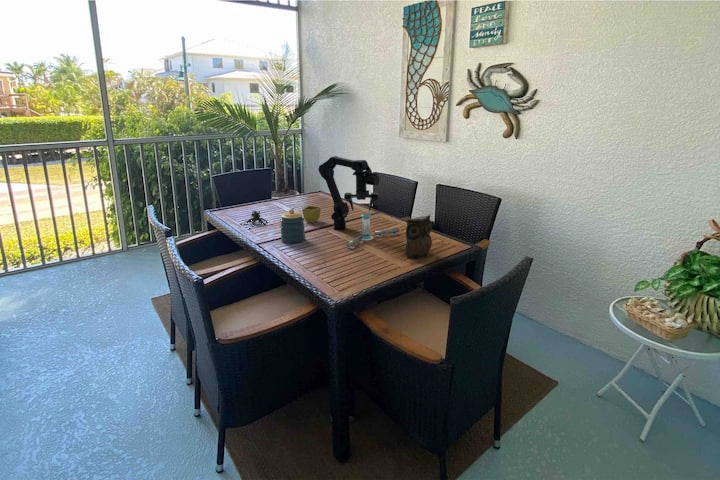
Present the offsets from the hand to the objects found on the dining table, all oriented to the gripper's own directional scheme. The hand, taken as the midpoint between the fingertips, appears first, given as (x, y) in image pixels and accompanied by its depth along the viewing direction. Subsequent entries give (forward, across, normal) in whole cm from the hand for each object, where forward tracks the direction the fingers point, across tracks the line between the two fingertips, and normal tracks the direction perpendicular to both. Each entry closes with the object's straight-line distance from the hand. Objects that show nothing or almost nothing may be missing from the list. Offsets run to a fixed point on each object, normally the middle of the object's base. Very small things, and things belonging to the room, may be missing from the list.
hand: (361, 211), depth 224 cm
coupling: (+13, +2, -9) cm, 16 cm away
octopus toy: (+14, -66, +20) cm, 70 cm away
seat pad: (+13, +3, -9) cm, 16 cm away
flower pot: (+13, -31, +23) cm, 41 cm away
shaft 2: (+13, +14, -4) cm, 20 cm away
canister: (+13, -37, -12) cm, 41 cm away
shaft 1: (+13, -3, -20) cm, 24 cm away
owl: (+13, +27, -33) cm, 45 cm away
